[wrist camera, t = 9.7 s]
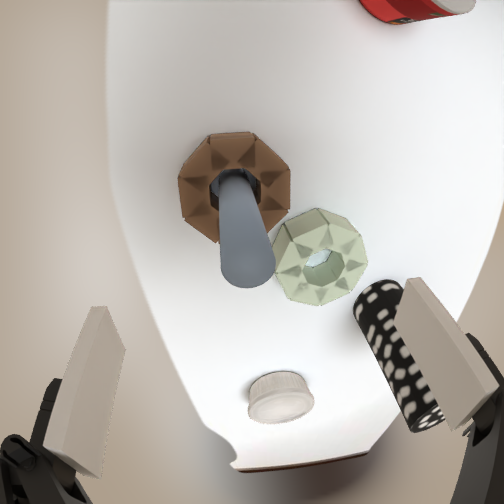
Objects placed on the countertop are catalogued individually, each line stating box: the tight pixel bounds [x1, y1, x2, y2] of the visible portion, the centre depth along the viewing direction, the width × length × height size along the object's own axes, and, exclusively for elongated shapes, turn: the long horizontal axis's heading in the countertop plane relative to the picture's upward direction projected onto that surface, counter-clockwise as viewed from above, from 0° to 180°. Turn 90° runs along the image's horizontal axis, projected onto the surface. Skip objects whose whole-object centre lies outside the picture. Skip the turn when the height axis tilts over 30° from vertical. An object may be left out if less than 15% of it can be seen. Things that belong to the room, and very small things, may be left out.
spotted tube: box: [353, 280, 445, 433], centre depth 33 cm, size 8×8×20 cm
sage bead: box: [272, 208, 368, 306], centre depth 34 cm, size 10×10×4 cm
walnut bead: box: [177, 132, 290, 244], centre depth 28 cm, size 10×10×4 cm
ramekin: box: [248, 372, 314, 424], centre depth 47 cm, size 11×11×5 cm
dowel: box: [218, 168, 276, 288], centre depth 23 cm, size 3×3×16 cm
